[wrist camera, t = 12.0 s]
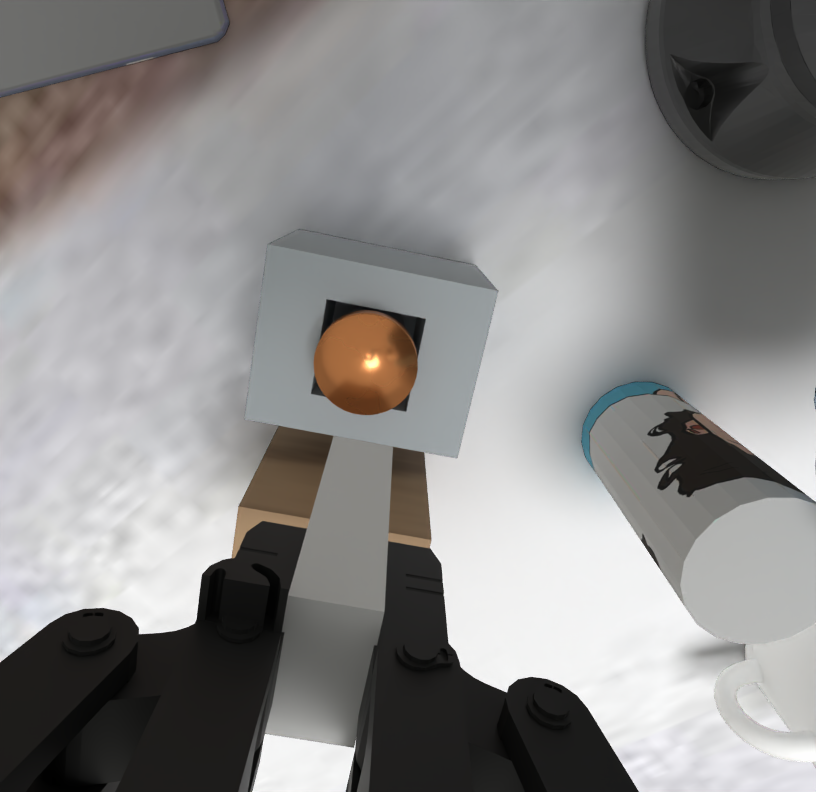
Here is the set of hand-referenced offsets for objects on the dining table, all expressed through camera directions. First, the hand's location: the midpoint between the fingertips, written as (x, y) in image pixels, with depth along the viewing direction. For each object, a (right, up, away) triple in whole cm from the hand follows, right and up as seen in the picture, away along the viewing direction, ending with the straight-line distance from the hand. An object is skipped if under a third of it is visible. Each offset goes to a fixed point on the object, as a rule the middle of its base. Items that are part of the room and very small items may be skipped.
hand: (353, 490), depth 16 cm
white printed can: (+15, 0, +24) cm, 28 cm away
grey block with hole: (0, +7, +21) cm, 22 cm away
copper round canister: (-1, +6, +18) cm, 19 cm away
